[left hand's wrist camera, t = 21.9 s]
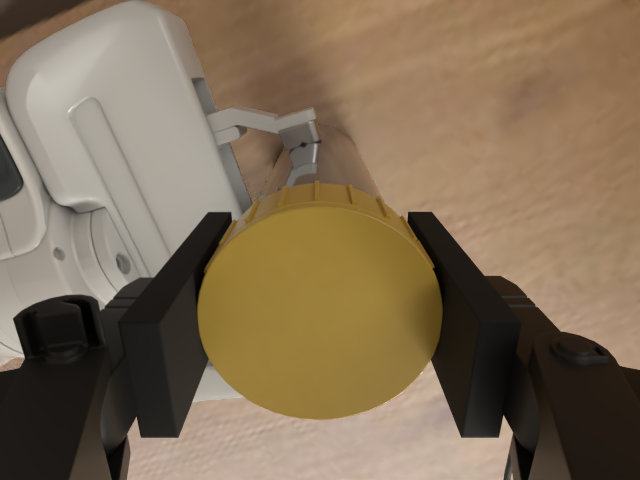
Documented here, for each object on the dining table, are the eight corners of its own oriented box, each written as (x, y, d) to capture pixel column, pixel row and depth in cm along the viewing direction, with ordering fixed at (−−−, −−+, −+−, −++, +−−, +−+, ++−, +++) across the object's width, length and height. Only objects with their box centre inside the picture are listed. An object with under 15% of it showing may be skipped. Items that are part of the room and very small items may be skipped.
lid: (332, 399, 13) (335, 456, 11) (174, 294, 12) (144, 338, 10) (468, 270, 12) (500, 310, 10) (303, 131, 10) (299, 145, 8)
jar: (362, 202, 28) (422, 380, 12) (284, 209, 28) (234, 393, 12) (358, 121, 26) (422, 197, 10) (274, 129, 26) (198, 216, 10)
